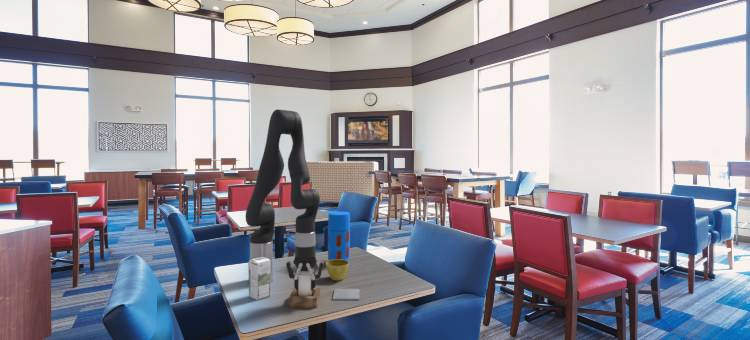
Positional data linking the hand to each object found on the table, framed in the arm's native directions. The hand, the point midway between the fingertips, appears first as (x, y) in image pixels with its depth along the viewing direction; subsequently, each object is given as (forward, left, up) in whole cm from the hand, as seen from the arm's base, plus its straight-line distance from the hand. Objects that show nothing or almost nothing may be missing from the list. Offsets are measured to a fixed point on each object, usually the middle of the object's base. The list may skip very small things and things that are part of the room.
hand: (305, 288), depth 139 cm
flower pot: (+10, +26, -5) cm, 28 cm away
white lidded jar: (0, 0, -5) cm, 5 cm away
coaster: (+15, +7, -5) cm, 17 cm away
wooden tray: (0, 0, -5) cm, 5 cm away
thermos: (+9, +50, -5) cm, 51 cm away
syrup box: (-18, +5, -5) cm, 19 cm away
